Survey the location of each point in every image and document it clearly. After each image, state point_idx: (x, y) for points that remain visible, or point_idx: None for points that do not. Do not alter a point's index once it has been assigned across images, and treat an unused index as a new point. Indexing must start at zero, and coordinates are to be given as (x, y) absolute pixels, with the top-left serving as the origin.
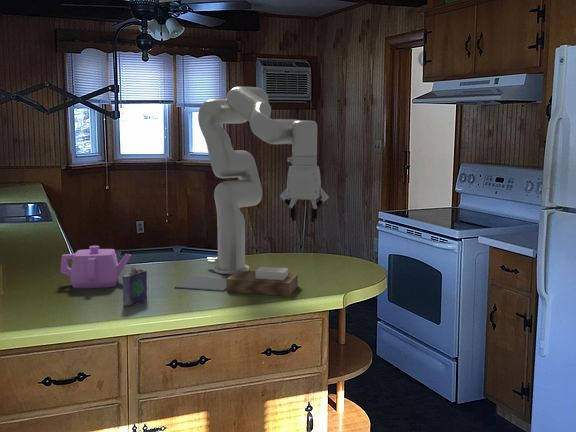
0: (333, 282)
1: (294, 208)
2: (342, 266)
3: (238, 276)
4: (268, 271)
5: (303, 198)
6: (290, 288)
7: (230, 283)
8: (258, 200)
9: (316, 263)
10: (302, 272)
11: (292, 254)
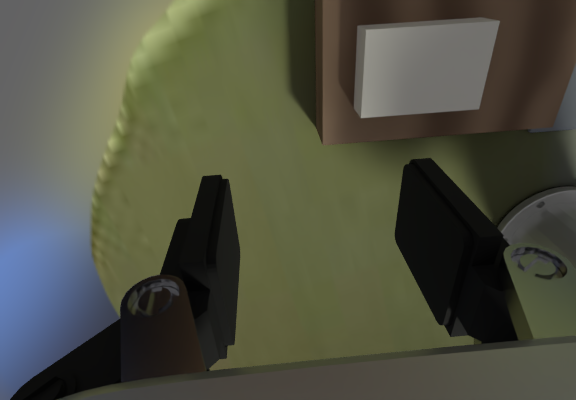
0: None
1: (465, 259)
2: (247, 346)
3: (554, 29)
4: (438, 30)
5: (371, 363)
6: (318, 2)
7: None
8: None
9: (318, 349)
10: (335, 271)
11: None
